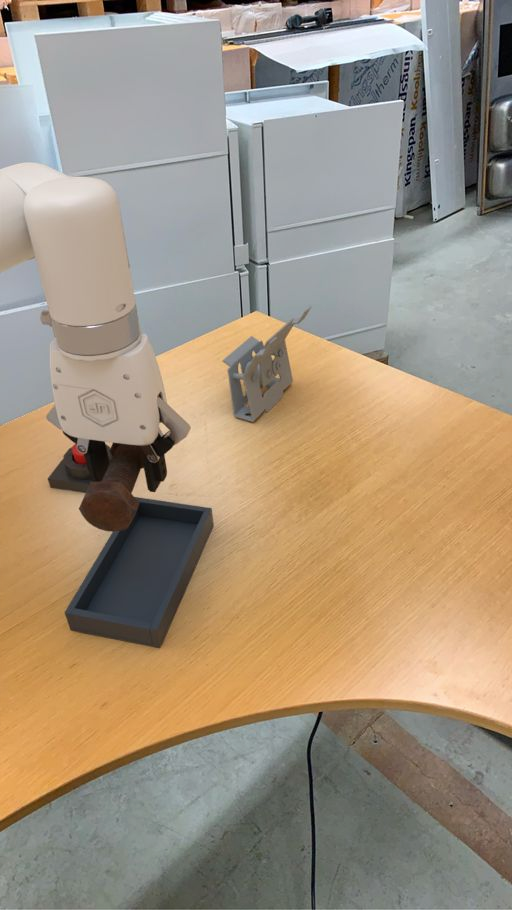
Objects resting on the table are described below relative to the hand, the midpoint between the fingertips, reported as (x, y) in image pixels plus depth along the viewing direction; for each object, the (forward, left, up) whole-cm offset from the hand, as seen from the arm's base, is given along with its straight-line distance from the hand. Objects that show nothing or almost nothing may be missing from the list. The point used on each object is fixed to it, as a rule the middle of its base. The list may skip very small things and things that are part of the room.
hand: (128, 478), depth 70 cm
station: (-15, +15, -14) cm, 26 cm away
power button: (-15, +15, -11) cm, 24 cm away
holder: (0, -1, -14) cm, 14 cm away
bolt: (0, 0, -1) cm, 1 cm away
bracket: (+5, +38, -14) cm, 41 cm away
